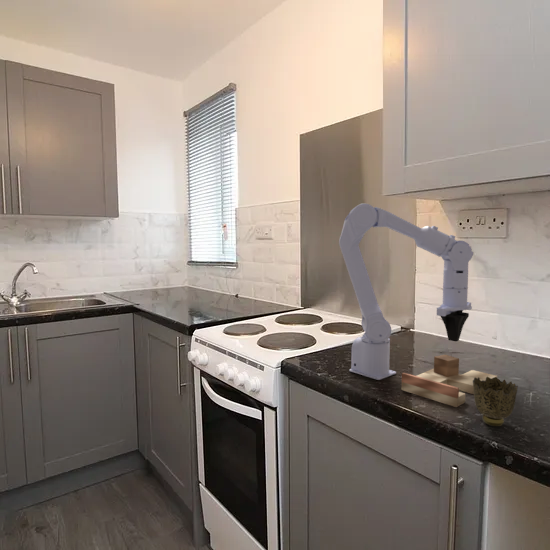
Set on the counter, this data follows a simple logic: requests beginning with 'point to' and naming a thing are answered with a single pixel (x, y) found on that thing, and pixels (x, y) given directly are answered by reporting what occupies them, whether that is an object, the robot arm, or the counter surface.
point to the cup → (494, 399)
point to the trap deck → (442, 385)
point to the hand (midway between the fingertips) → (453, 340)
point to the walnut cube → (446, 365)
